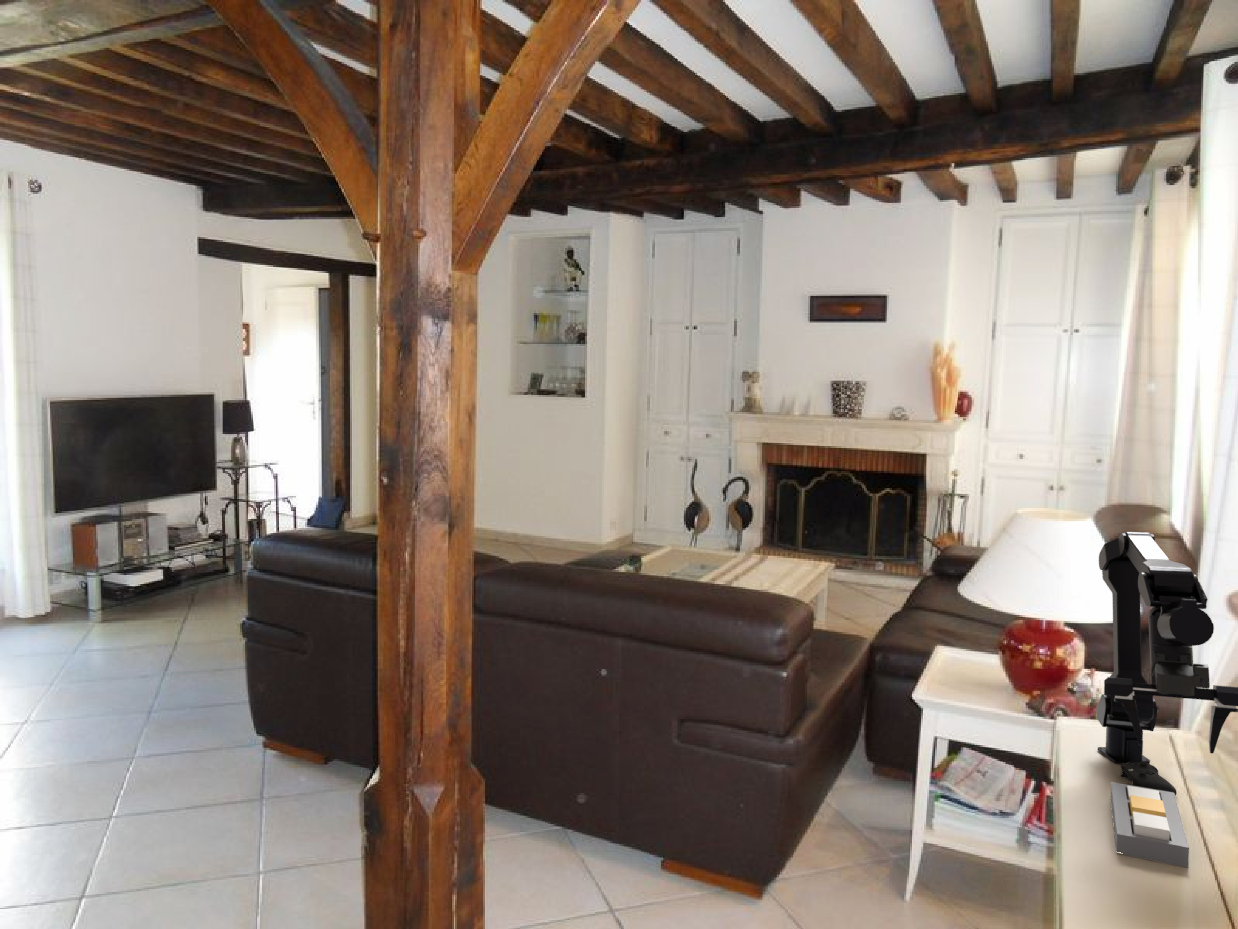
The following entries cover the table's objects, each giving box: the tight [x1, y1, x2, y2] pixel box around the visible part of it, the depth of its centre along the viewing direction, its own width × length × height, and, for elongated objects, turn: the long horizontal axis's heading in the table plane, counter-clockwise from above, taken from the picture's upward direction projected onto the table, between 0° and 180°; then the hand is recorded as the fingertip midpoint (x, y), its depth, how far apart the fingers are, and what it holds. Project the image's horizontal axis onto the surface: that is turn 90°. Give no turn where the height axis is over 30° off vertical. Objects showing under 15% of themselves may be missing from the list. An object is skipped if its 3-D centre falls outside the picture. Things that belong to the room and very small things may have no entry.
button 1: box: [1127, 786, 1161, 800], centre depth 141 cm, size 4×4×2 cm
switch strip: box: [1109, 781, 1190, 868], centre depth 135 cm, size 19×9×3 cm, turn 153°
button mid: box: [1130, 795, 1165, 817], centre depth 135 cm, size 4×4×2 cm
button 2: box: [1132, 811, 1170, 841], centre depth 130 cm, size 4×4×2 cm
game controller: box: [1120, 762, 1177, 797], centre depth 151 cm, size 10×5×6 cm
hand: (1175, 749), depth 134 cm, fingers open, 9 cm apart
